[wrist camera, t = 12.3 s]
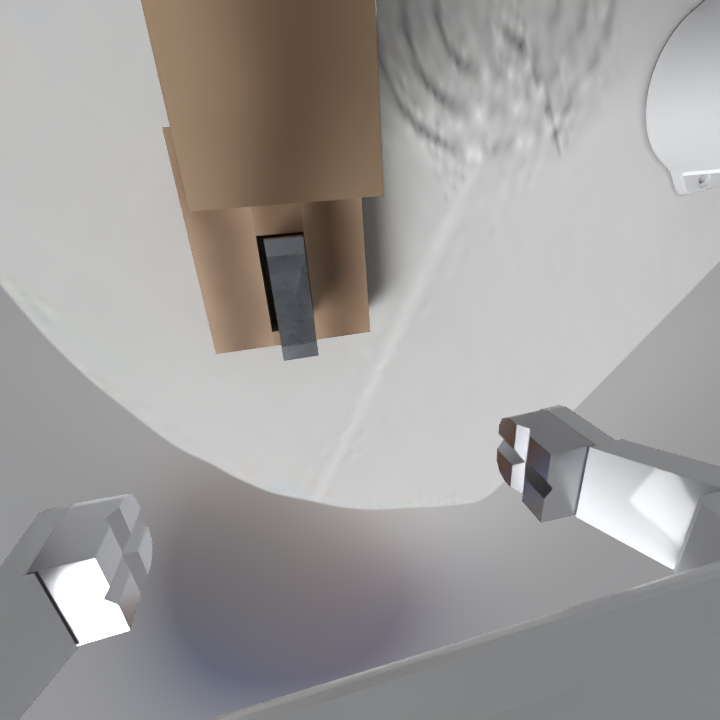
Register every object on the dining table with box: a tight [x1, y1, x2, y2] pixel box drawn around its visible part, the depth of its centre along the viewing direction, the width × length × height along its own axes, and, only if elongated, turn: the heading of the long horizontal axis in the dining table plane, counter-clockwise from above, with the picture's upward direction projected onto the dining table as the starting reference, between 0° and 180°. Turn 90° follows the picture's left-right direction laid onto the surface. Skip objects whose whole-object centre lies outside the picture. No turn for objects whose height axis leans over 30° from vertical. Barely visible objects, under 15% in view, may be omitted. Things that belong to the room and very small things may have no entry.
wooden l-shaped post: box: [141, 0, 384, 354], centre depth 23 cm, size 13×16×23 cm
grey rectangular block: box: [264, 235, 318, 361], centre depth 30 cm, size 2×8×10 cm, turn 5°
